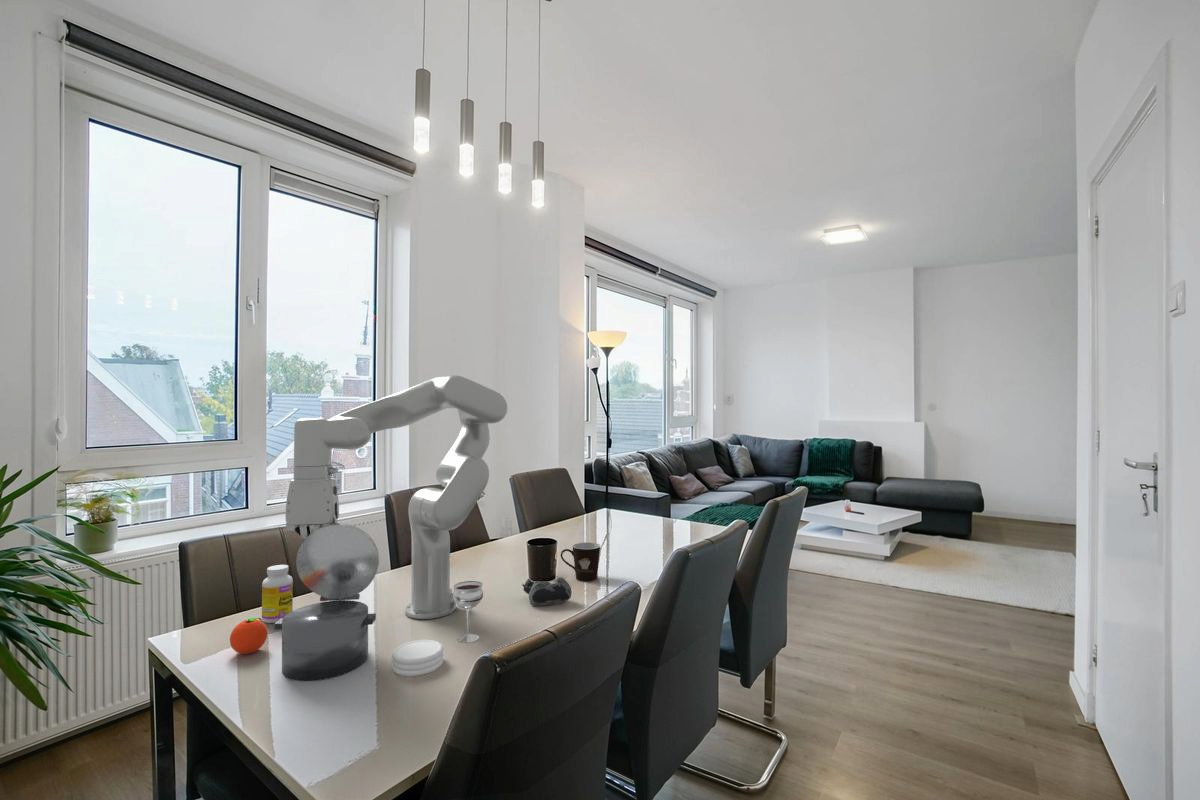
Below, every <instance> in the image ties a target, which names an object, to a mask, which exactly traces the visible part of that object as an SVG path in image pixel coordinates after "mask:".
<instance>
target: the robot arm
mask: <svg viewBox="0 0 1200 800" xmlns="http://www.w3.org/2000/svg"><path fill="white" fill-rule="evenodd" d="M446 409H457V414H458V417H459V421H460V432H459V434H458V436H457V438H456V440H455V442H454V443H453V444H452V446H451V447H450V449H449V450H448V451H447V453H446V455H445V456H444V458H443V459H442V460H441V462H440V463H439V465H438V467H437V470H436V471H435V472H436V473H435V477H436V480H437V483H438V484H439V485H441V486H442V487H444V489H442V488H436V487H424V488H422V489H419V490H417V491H416V492H414V493H413V494H412V496H411V498H410V500H409V503H408V520H409V525H410V533H411V602H410V603H409V604H408V605H407V606H406V607H405V608H404V613H405V615H406V616H407V617H408V618H411V619H417V620H429V619H432V620H433V619H438V618H443V617H445V616H448V615H450V614H452V613H454V611H455V610H456V609H457V604H456V603H455V602H454V600H453V589H452V588H451V578H450V577H451V572H450V571H451V569H450V568H451V558H450V557H451V556H450V555H451V539H450V538H451V536H450V532H449V531H452V530H455V529H457V528H458V527H459V526H461V525H462V524H463V523H464V522H465V520H466V519H467V517H468V516H469V514H470V513H471V511H472V510H473V509H474V507H475V505H476V504H477V502H478V500H479V499H480V498H481V496H482V494H483V493H484V491H485V489H486V488H487V485H488V482H489V480H490V470H489V466H488V464H487V463H486V461H485V460H484V459H482V458H483V457H484V455H485V453H486V451H487V450H488V448H489V445H490V439H491V438H490V437H491V435H490V429H489V424H496V423H499V422H501V421H502V420H504V418H505V417H506V415H507V414H508V403H507V400H506V399H505V397H504V396H503V395H502V394H501V393H500V392H498V391H495V390H493V389H491V388H489V387H487V386H485V385H483V384H480V383H478V382H476V381H473V380H471V379H469V378H467V377H464V376H461V375H453V374H452V375H443V376H441V375H440V376H437V377H433V378H431V379H428V380H425V381H424V382H423V381H422V382H421V383H418V384H417V385H413V386H412V387H409V388H407V389H403V390H401V391H398V392H395V393H393V394H390V395H388V396H384V397H382V398H380V399H377V400H374V401H372V402H368V403H366V404H363V405H360V406H357V407H355V408H352V409H349V410H347V411H344V412H342V413H339V414H337V415H335V416H333V417H331V418H329V419H328V418H323V417H306V418H305V417H304V418H303V417H301V418H298V419H297V420H296V421H295V422H294V428H293V479H291V480H290V482H289V486H288V490H287V494H286V501H285V503H286V504H285V513H284V514H285V515H284V516H285V518H284V519H285V527H284V528H285V530H287V531H292V532H296V533H297V534H298V535H299V536H300V538H301V539H302V540H303V541H304V540H305V539H306V538H307V537H308V536H309V535H310V534H311V533H312V532H313V531H315V530H317V529H318V528H320V527H323V526H326V525H329V524H337V523H338V519H339V518H340V504H339V502H340V500H339V492H338V485H337V479H336V478H334V477H333V475H338V473H339V468H338V467H334V466H333V464H332V456H333V455H332V453H333V452H332V450H333V449H336V450H337V449H341V450H349V451H350V450H351V451H352V450H353V451H354V450H358V449H361V448H363V447H365V446H366V445H367V444H368V443H369V441H370V440H371V437H372V434H373V433H378V432H380V431H384V430H390V429H397V428H398V429H399V428H403V427H407V426H409V425H413V424H414V423H417V422H419V421H420V420H423V419H425V418H427V417H429V416H432V415H434V414H436V413H438V412H441V411H443V410H446ZM311 526H313V530H312V528H311ZM303 541H302V542H303Z"/></svg>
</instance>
